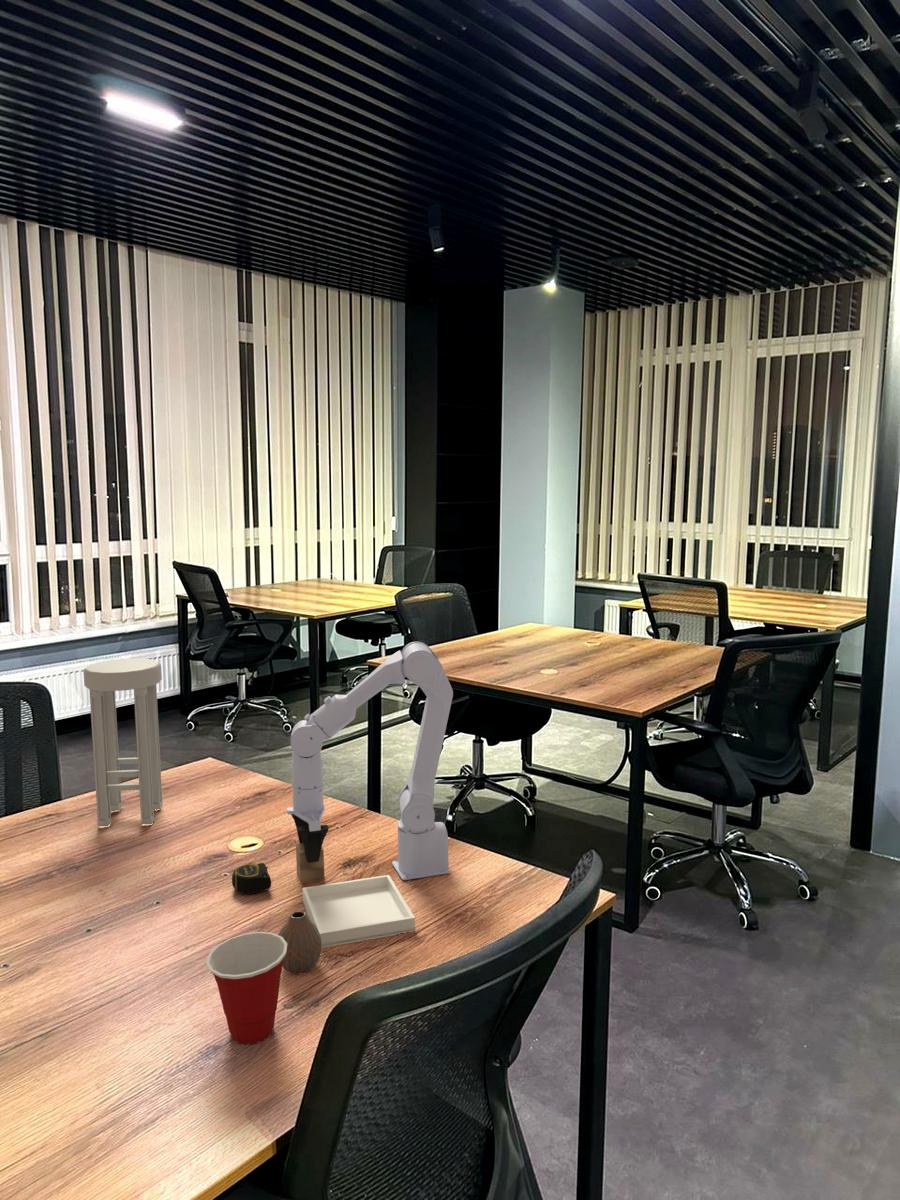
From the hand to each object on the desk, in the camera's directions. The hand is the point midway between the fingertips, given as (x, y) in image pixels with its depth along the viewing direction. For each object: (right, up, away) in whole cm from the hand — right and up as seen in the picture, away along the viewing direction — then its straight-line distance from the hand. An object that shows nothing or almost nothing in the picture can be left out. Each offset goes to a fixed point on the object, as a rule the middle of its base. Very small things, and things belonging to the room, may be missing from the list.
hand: (309, 853), depth 168 cm
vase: (+3, -9, -31) cm, 32 cm away
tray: (+11, -7, -15) cm, 19 cm away
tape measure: (-10, -6, -4) cm, 12 cm away
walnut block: (0, -5, +1) cm, 5 cm away
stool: (-45, -1, +31) cm, 54 cm away
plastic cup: (-1, -11, -47) cm, 48 cm away
